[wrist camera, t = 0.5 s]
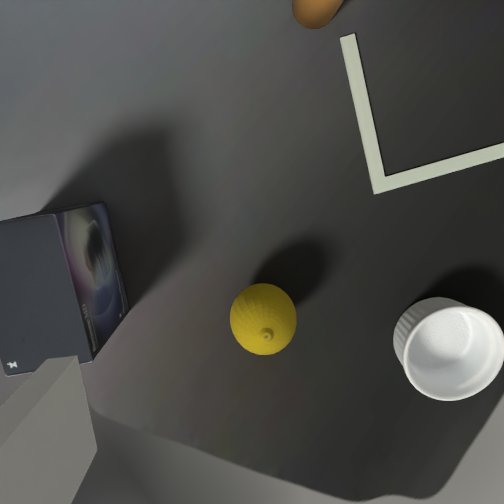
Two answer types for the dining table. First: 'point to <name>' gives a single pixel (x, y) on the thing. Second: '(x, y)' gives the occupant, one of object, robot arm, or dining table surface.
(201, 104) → the dining table surface
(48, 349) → the small box
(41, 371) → the robot arm
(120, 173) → the dining table surface
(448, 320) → the ramekin
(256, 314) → the lemon
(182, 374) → the dining table surface
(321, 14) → the post
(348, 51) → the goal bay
